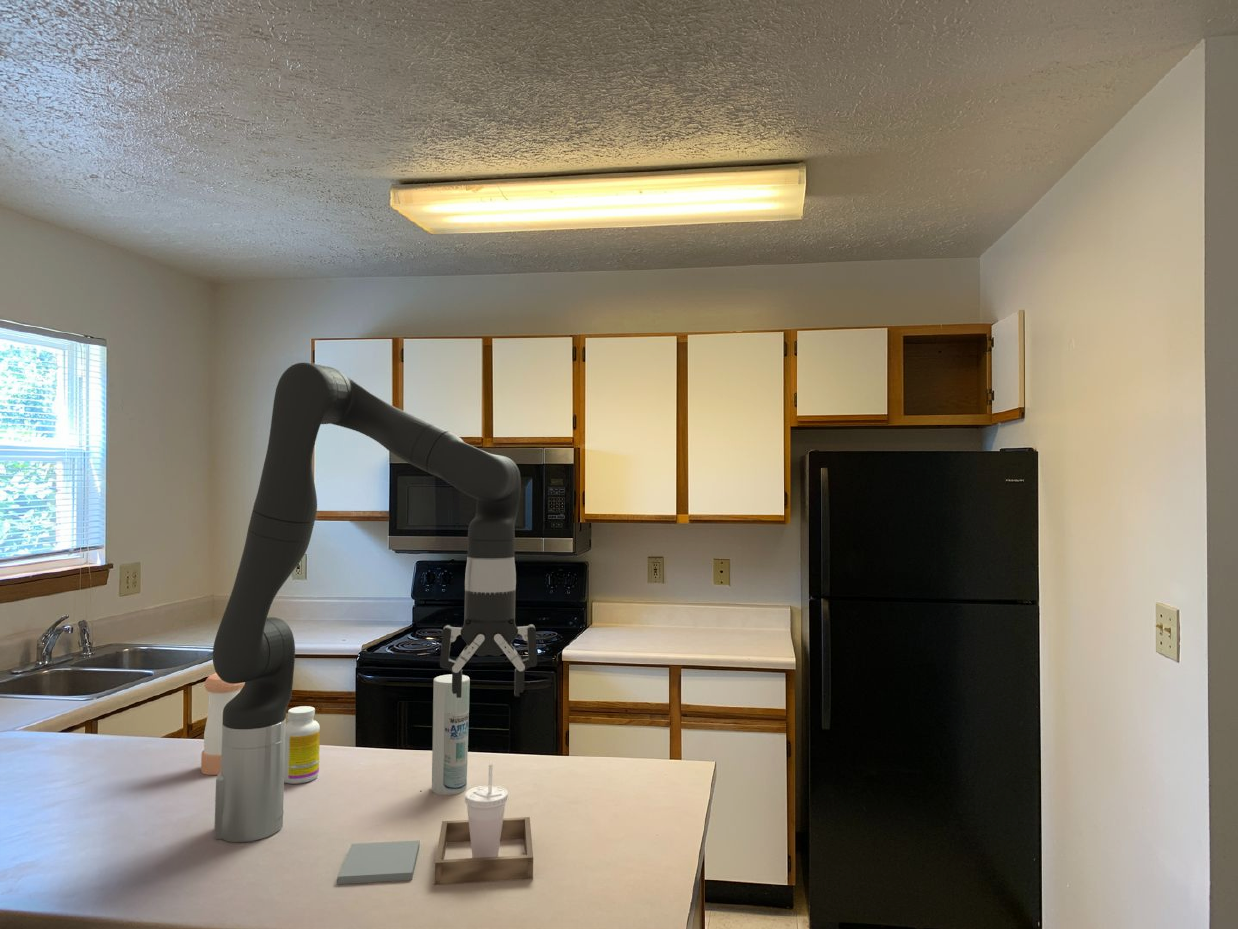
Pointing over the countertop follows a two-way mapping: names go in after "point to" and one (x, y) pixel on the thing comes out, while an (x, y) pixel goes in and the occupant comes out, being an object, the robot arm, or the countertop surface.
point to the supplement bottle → (301, 746)
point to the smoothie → (486, 817)
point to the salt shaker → (216, 722)
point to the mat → (379, 862)
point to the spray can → (450, 736)
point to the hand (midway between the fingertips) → (488, 696)
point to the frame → (486, 866)
